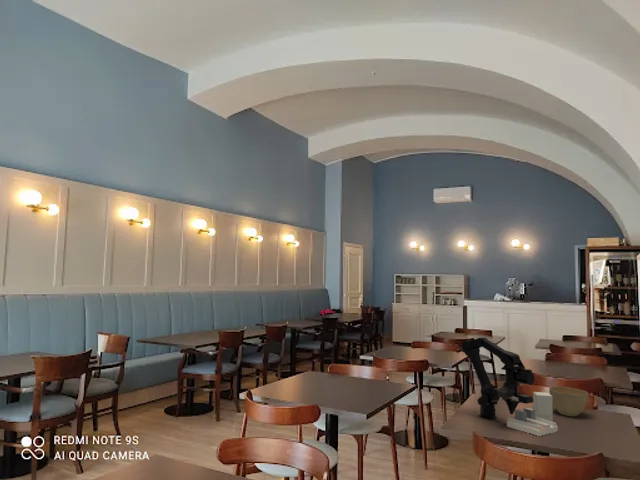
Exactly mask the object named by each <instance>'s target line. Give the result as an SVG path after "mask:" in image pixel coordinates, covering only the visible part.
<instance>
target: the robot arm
mask: <svg viewBox="0 0 640 480" xmlns="http://www.w3.org/2000/svg"><path fill="white" fill-rule="evenodd" d="M480 348H484V349H485V350H487V351H488V352H489V353H491V354H493V355H494V356H496V357H497V358H498V359H499V360H500V362H501V363H502V364H504V365H503V366H502V367H501V368H500V369H501V370H503V371H504V372H505V374H504V375H505V376H504V377H505V380H504V382H503V383H502V386H501V387H498V386H497V385H496V384H493V383H492V382H491V380H490V378H489V376H488V374H487V373H488V372H487V371H486V368H485V366H484V364H483V363H484V362H483V361H482V359H481V356H480V354H481V353H480V352H481V350H480ZM461 349H462V351H463V353H464V354H465V355H466V356H467V357H468V358H469V360H470V362H471V364H472V366H473V369H474V372H475V374H476V376H477V378H478V379H477V380H478V382H479V384H480V396H479V398H478V399H477V404H478V405H479V406H480V411H479V412H480V414H478V417H480V418H483V419H487V420H492V419H496V418H497V415H496V412H497V411H496V405H498V402H499V401H500V398H501V400H503V401H504V402H505V404H506V405H507V408H508V411H509V414H510V415H514V414H515V410H517V407H518V405H519V404H520V403H521V404H527V405H528V404H530V403H531V404H532V403H533V396H532V395H529V394H521V392H520V391H519V386H521V384H524V385H528V386H532V385H533V384H534V383H535V380H536V377H535V374H534V373H533V371H532V369H527V368H526V367H525V365H524V364H523V362H522V360H521V358H520V355H519V354H518V353H515V352H513V351H509V350H506V349H504V348H502V347H501V346H499V345H497V344H496V343H494V342H492V341H491V340H489V339H488V338H487V337H484V336H483V337H477V338H475V339H473V340H465V341H464V340H463V342H462V344H461ZM520 394H521V395H520Z"/></svg>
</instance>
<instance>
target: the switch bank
mask: <svg viewBox="0 0 640 480" xmlns="http://www.w3.org/2000/svg"><path fill="white" fill-rule="evenodd" d="M507 418H508V419H507V421H506V427H508V428H511V429H514V430H518V431H520V432H523V431H524V432H523V433H526V432H527V434H529V433H531V434H530V435H532V434H534V435H533V436H535V435H537V436H536V437H539V436H540V437H543V436H547V435H549V433H550V434H553V433H557V432H558V428H559V427H558V425H557V422H555V421H552V422H551V421H548V420H544V419H541V418H537V417H535V420H534V419H530V418H527V422H524V421H521V420H518V419H515V417H510V416H509V417H507ZM546 434H547V435H546ZM542 435H543V436H542Z"/></svg>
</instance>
